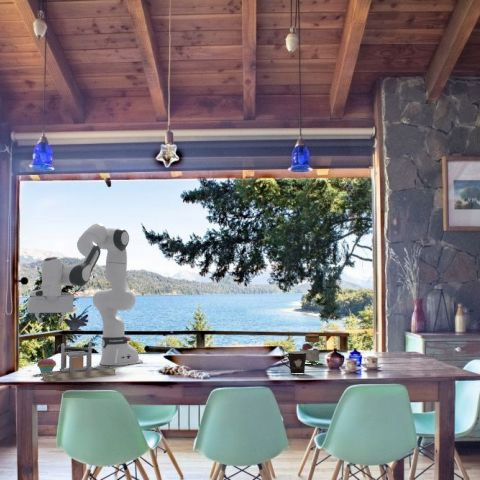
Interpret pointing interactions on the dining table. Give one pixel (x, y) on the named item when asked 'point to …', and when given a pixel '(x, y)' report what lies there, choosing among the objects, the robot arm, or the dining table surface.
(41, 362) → the cupcake
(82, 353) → the tunnel
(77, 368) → the sled
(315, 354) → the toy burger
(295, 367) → the coffee mug
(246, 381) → the dining table surface
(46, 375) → the board
